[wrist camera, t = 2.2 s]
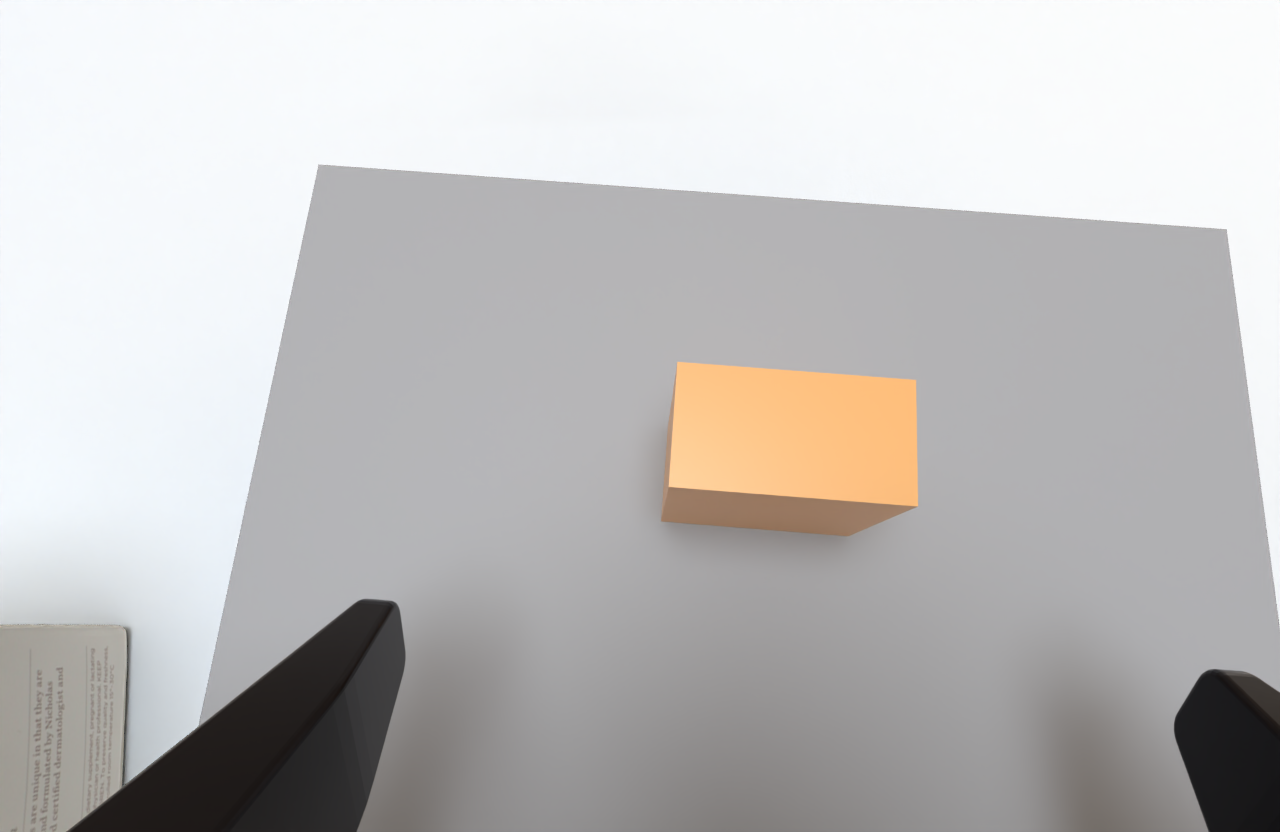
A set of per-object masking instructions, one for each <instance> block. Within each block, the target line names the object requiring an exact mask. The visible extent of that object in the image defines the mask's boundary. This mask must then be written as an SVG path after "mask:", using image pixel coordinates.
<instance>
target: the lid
mask: <svg viewBox="0 0 1280 832" xmlns="http://www.w3.org/2000/svg"><path fill="white" fill-rule="evenodd" d="M361 599H378V600H390V601H394V602H396V603H397V604H398V606H399V609H400V614H401V621H402V628H403V636H404V643H405V651H406V660H405V668H404V673H403V677H402V681H401V684H400V688H399V691H398V695H397V699H396V702H395V706H394V710H393V713H392V717H391V720H390V724H389V728H388V731H387V735H386V739H385V742H384V746H383V749H382V753H381V757H380V760H379V764H378V768H377V771H376V775H375V778H374V782H373V785H372V789H371V792H370V796H369V799H368V802H367V805H366V808H365V811H364V814H363V816H362V819H361V822H360V825H359V827H358V830H357V832H1209V831H1208V829H1207V826H1206V823H1205V820H1204V818H1203V815H1202V812H1201V809H1200V806H1199V804H1198V801H1197V798H1196V795H1195V793H1194V790H1193V787H1192V784H1191V781H1190V779H1189V776H1188V773H1187V770H1186V768H1185V765H1184V762H1183V759H1182V757H1181V754H1180V751H1179V748H1178V745H1177V743H1176V739H1175V735H1174V720H1175V716H1176V714H1177V712H1178V711H1179V709H1180V707H1181V706H1182V704H1183V703H1184V701H1185V699H1186V698H1187V696H1188V694H1189V693H1190V691H1191V689H1192V688H1193V686H1194V685H1195V683H1196V681H1197V680H1198V678H1199V677H1200V675H1201V674H1202V673H1204V672H1205V671H1207V670H1209V669H1222V670H1234V671H1244V672H1248V673H1251V674H1253V675H1255V676H1257V677H1258V678H1260V679H1261V680H1263V681H1264V682H1266V683H1267V684H1269V685H1270V686H1272V687H1273V688H1274V689H1276V690H1277V691H1279V692H1280V627H1279V619H1278V612H1277V604H1276V597H1275V589H1274V582H1273V574H1272V567H1271V559H1270V552H1269V544H1268V537H1267V529H1266V522H1265V514H1264V507H1263V499H1262V492H1261V484H1260V477H1259V469H1258V462H1257V454H1256V447H1255V439H1254V432H1253V424H1252V417H1251V409H1250V402H1249V394H1248V387H1247V379H1246V372H1245V364H1244V357H1243V349H1242V342H1241V334H1240V327H1239V319H1238V312H1237V304H1236V297H1235V289H1234V282H1233V274H1232V267H1231V259H1230V252H1229V244H1228V237H1227V229H1213V228H1199V227H1185V226H1171V225H1157V224H1143V223H1129V222H1115V221H1101V220H1087V219H1073V218H1059V217H1045V216H1031V215H1017V214H1003V213H989V212H975V211H961V210H947V209H933V208H919V207H905V206H891V205H877V204H863V203H849V202H835V201H821V200H807V199H793V198H779V197H765V196H751V195H737V194H723V193H709V192H695V191H681V190H667V189H653V188H639V187H625V186H611V185H597V184H583V183H569V182H555V181H541V180H527V179H513V178H499V177H485V176H471V175H457V174H443V173H429V172H415V171H401V170H387V169H373V168H359V167H345V166H331V165H319V166H318V170H317V175H316V180H315V184H314V189H313V194H312V198H311V203H310V208H309V212H308V217H307V222H306V226H305V231H304V236H303V240H302V245H301V250H300V255H299V259H298V264H297V269H296V273H295V278H294V283H293V287H292V292H291V297H290V301H289V306H288V311H287V315H286V320H285V325H284V329H283V334H282V339H281V343H280V348H279V353H278V357H277V362H276V367H275V371H274V376H273V381H272V385H271V390H270V395H269V399H268V404H267V409H266V413H265V418H264V423H263V427H262V432H261V437H260V441H259V446H258V451H257V455H256V460H255V465H254V469H253V474H252V479H251V483H250V488H249V493H248V497H247V502H246V507H245V511H244V516H243V521H242V525H241V530H240V535H239V539H238V544H237V549H236V553H235V558H234V563H233V567H232V572H231V577H230V581H229V586H228V591H227V595H226V600H225V605H224V610H223V614H222V619H221V624H220V628H219V633H218V638H217V642H216V647H215V652H214V656H213V661H212V666H211V670H210V675H209V680H208V684H207V689H206V694H205V698H204V703H203V708H202V712H201V717H200V722H199V726H200V725H201V724H202V723H204V722H205V721H206V720H207V719H209V718H210V717H211V716H212V715H214V714H215V713H216V712H218V711H219V710H220V709H221V708H223V707H224V706H225V705H226V704H228V703H229V702H230V701H231V700H233V699H234V698H235V697H236V696H238V695H239V694H240V693H241V692H243V691H244V690H245V689H247V688H248V687H249V686H250V685H252V684H253V683H254V682H255V681H257V680H258V679H259V678H260V677H262V676H263V675H264V674H265V673H267V672H268V671H269V670H270V669H272V668H273V667H274V666H276V665H277V664H278V663H279V662H281V661H282V660H283V659H284V658H286V657H287V656H288V655H289V654H291V653H292V652H293V651H294V650H296V649H297V648H298V647H299V646H301V645H302V644H303V643H305V642H306V641H307V640H308V639H310V638H311V637H312V636H313V635H315V634H316V633H317V632H318V631H320V630H321V629H322V628H323V627H325V626H326V625H327V624H329V623H330V622H331V621H332V620H334V619H335V618H336V617H337V616H339V615H340V614H341V613H342V612H344V611H345V610H346V609H347V608H349V607H350V606H351V605H352V604H354V603H355V602H357V601H359V600H361ZM199 726H198V727H199Z"/></svg>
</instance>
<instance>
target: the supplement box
mask: <svg viewBox="0 0 1280 832" xmlns="http://www.w3.org/2000/svg"><path fill="white" fill-rule="evenodd" d="M126 678H127V635H126V630H125V629H124V628H123V627H122V626H120V625H46V624H37V625H31V624H23V625H0V832H66V831H67V830H69V829H70V828H71V827H72V826H74V825H75V824H76V823H78V822H79V821H80V820H81V819H83V818H84V817H85V816H86V815H88V814H89V813H90V812H91V811H93V810H94V809H95V808H96V807H98V806H99V805H100V804H101V803H103V802H104V801H105V800H107V799H108V798H109V797H110V796H112V795H113V794H114V793H115V792H117V791H118V790H119V789H120V788H122V774H123V752H124V724H125V700H126Z"/></svg>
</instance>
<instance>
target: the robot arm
mask: <svg viewBox="0 0 1280 832" xmlns="http://www.w3.org/2000/svg"><path fill="white" fill-rule="evenodd" d="M405 660H406V651H405V643H404V636H403V628H402V621H401V614H400V609H399V606H398V604H397V603H396V602H394V601H390V600H378V599H361V600H359V601H357V602H355V603H354V604H352V605H351V606H350V607H349V608H347V609H346V610H345V611H344V612H342V613H341V614H340V615H339V616H337V617H336V618H335V619H334V620H332V621H331V622H330V623H329V624H327V625H326V626H325V627H323V628H322V629H321V630H320V631H318V632H317V633H316V634H315V635H313V636H312V637H311V638H310V639H308V640H307V641H306V642H305V643H303V644H302V645H301V646H299V647H298V648H297V649H296V650H294V651H293V652H292V653H291V654H289V655H288V656H287V657H286V658H284V659H283V660H282V661H281V662H279V663H278V664H277V665H276V666H274V667H273V668H272V669H270V670H269V671H268V672H267V673H265V674H264V675H263V676H262V677H260V678H259V679H258V680H257V681H255V682H254V683H253V684H252V685H250V686H249V687H248V688H247V689H245V690H244V691H243V692H241V693H240V694H239V695H238V696H236V697H235V698H234V699H233V700H231V701H230V702H229V703H228V704H226V705H225V706H224V707H223V708H221V709H220V710H219V711H218V712H216V713H215V714H214V715H212V716H211V717H210V718H209V719H207V720H206V721H205V722H204V723H202V724H201V725H200V726H199V727H197V728H196V729H195V730H194V731H192V732H191V733H190V734H189V735H187V736H186V737H185V738H183V739H182V740H181V741H180V742H178V743H177V744H176V745H175V746H173V747H172V748H171V749H170V750H168V751H167V752H166V753H165V754H163V755H162V756H161V757H159V758H158V759H157V760H156V761H154V762H153V763H152V764H151V765H149V766H148V767H147V768H146V769H144V770H143V771H142V772H141V773H139V774H138V775H137V776H136V777H134V778H133V779H132V780H130V781H129V782H128V783H127V784H125V785H124V786H123V787H122V788H120V789H119V790H118V791H117V792H115V793H114V794H113V795H112V796H110V797H109V798H108V799H107V800H105V801H104V802H103V803H101V804H100V805H99V806H98V807H96V808H95V809H94V810H93V811H91V812H90V813H89V814H88V815H86V816H85V817H84V818H83V819H81V820H80V821H79V822H78V823H76V824H75V825H74V826H72V827H71V828H70V829H69V830H67V831H66V832H357V830H358V827H359V825H360V822H361V819H362V816H363V814H364V811H365V808H366V805H367V802H368V799H369V796H370V792H371V789H372V785H373V782H374V778H375V775H376V771H377V768H378V764H379V760H380V757H381V753H382V749H383V746H384V742H385V739H386V735H387V731H388V728H389V724H390V720H391V717H392V713H393V710H394V706H395V702H396V699H397V695H398V691H399V688H400V684H401V681H402V677H403V673H404V668H405ZM1174 735H1175V739H1176V743H1177V745H1178V748H1179V751H1180V754H1181V757H1182V759H1183V762H1184V765H1185V768H1186V770H1187V773H1188V776H1189V779H1190V781H1191V784H1192V787H1193V790H1194V793H1195V795H1196V798H1197V801H1198V804H1199V806H1200V809H1201V812H1202V815H1203V818H1204V820H1205V823H1206V826H1207V829H1208V831H1209V832H1280V692H1279V691H1277V690H1276V689H1274V688H1273V687H1272V686H1270V685H1269V684H1267V683H1266V682H1264V681H1263V680H1261V679H1260V678H1258V677H1257V676H1255V675H1253V674H1251V673H1248V672H1244V671H1234V670H1222V669H1209V670H1207V671H1205V672H1204V673H1202V674H1201V675H1200V677H1199V678H1198V680H1197V681H1196V683H1195V685H1194V686H1193V688H1192V689H1191V691H1190V693H1189V694H1188V696H1187V698H1186V699H1185V701H1184V703H1183V704H1182V706H1181V707H1180V709H1179V711H1178V712H1177V714H1176V716H1175V720H1174Z"/></svg>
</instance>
